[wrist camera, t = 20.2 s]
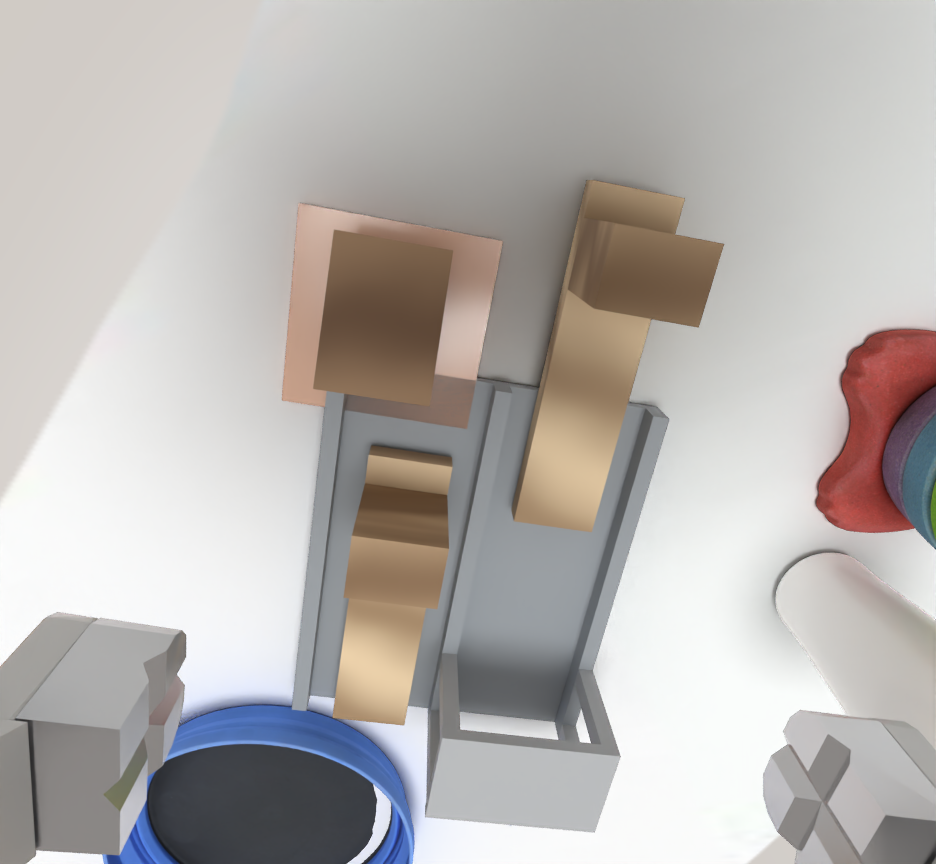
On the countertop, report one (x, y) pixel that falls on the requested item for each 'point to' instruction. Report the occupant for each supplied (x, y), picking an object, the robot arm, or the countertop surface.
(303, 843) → the blue round shallow tray
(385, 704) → the strip far
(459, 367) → the coaster
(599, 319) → the strip near
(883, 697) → the drinking glass
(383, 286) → the walnut block
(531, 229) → the countertop surface
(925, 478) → the stacking bear
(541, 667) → the lane board
